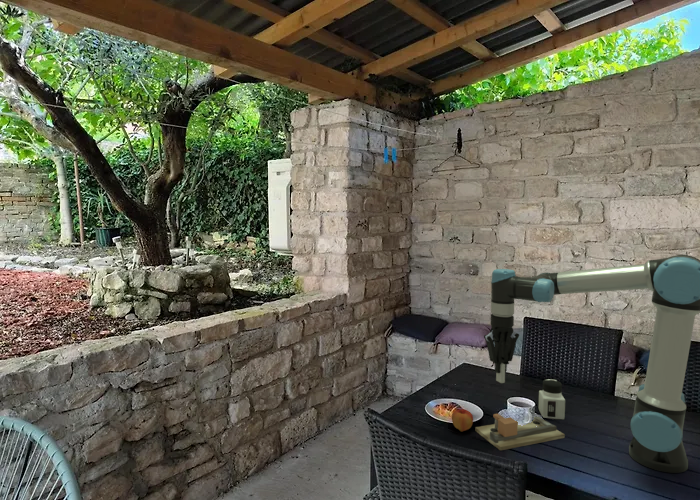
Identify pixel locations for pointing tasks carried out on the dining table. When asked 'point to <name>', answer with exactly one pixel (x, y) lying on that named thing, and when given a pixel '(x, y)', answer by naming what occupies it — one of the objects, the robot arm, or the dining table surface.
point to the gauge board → (521, 434)
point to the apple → (462, 419)
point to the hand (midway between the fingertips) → (500, 381)
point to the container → (552, 400)
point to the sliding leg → (505, 425)
